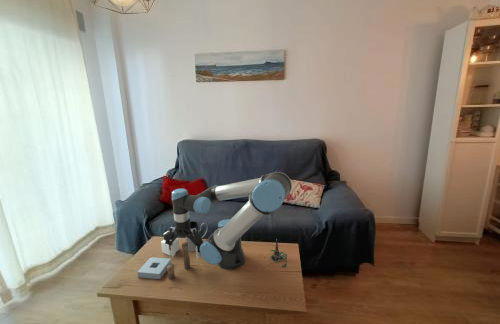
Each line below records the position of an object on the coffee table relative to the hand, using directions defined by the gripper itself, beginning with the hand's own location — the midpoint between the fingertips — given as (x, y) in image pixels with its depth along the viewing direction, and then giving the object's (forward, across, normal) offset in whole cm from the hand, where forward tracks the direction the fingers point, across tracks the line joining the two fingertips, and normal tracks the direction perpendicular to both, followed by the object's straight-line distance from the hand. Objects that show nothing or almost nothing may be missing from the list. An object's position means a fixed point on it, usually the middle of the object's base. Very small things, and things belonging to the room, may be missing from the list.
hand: (185, 256), depth 124 cm
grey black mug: (+7, +2, -20) cm, 21 cm away
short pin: (+7, +5, +8) cm, 11 cm away
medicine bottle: (+7, +16, -13) cm, 21 cm away
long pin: (+6, 0, 0) cm, 6 cm away
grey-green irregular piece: (+7, -47, -12) cm, 49 cm away
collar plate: (+7, +16, +4) cm, 17 cm away
